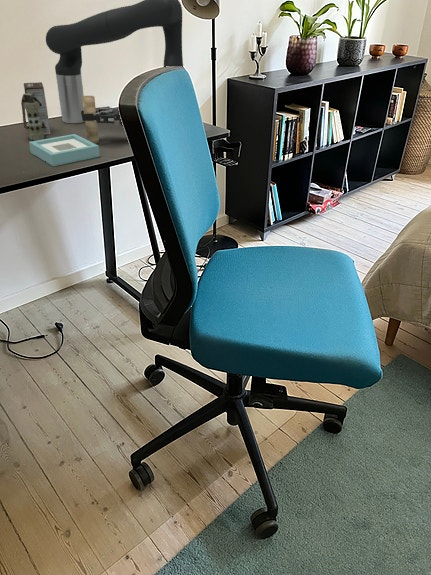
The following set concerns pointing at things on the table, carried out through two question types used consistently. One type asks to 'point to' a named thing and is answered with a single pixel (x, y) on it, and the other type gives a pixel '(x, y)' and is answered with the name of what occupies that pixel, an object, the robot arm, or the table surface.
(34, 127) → the grenade model
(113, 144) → the table surface
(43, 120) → the coffee box
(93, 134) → the peg
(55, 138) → the socket box
